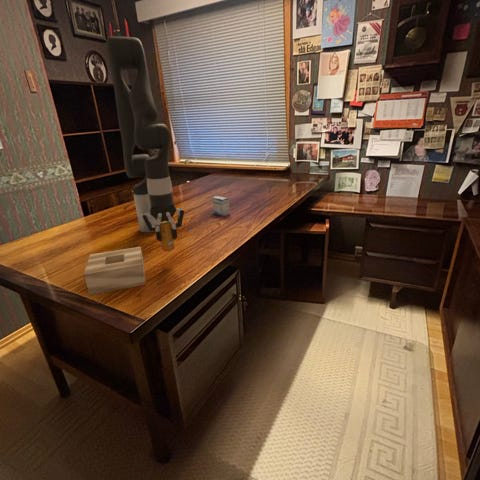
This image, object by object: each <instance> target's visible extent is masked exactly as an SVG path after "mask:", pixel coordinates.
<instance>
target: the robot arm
mask: <svg viewBox="0 0 480 480" xmlns="http://www.w3.org/2000/svg"><path fill="white" fill-rule="evenodd" d="M105 43H106V44H105V45H106V53H107V54H106V55H107V60H108V64H109V69H110V73H111V79H112V83H113V89H114V97H115V104H116V111H117V112H116V113H117V114H116V115H117V119H118V125H119V132H120V137H121V143H122V153H123V164H124V166H123V167H124V171H125V173H126V174H125V175H126V176H127V177H128V178H129V179H134V178H136V179H137V178H143V177H144V179H143V180H142V181H141V182H139V183H137V184H135V185H134V186H132V194H133V199H134V205H135V210H136V215H137V221H138V226H139V227H138V228H139V231H140V233H155V236H156V240H157V241H158V243H159V242H160V243H161V236H160V229H159V227H160V223H161V222H163V221H167V222H170V224H171V226H172V232H173V240H176V238H177V237H178V232H177V229H178V228H181V227H182V225H183V220H184V215H185V210H184V208H182V207H181V208H178V207H177V208H176V206H175V201H174V194H173V193H174V192H173V185H172V180H171V176H170V169H169V153H170V146H171V140H172V139H171V138H172V137H171V136H172V135H171V131H170V128H168V126H167V125H166V124H165V123H156V121H157V120H158V118H159V114H158V110H157V107H156V106H157V105H156V104H155V100H154V97H153V94H152V89H151V88H152V87H151V82H150V76H149V75H150V74H149V70H148V63H147V59H146V54H145V53H146V52H145V49H144V47H143V44H142V41H141V40H140V39H139V38H137V37H132V36H108V37H107V38H106V42H105ZM122 71H123V72H125V71H127V72H128V71H130V72H131V71H134V72H135V71H137V75H136V78H135V79H134V81H133V84H132V86H131V88H129V86H128V84H126V82H125V79H124V77H123V76H122ZM135 147H137V148H138V149H140V150H142V151H146V150H147V151H149V150H158V149H159V150H158V152H157V154H156V155H153V156H150V155H149V154H146V153H141V154H133V153H134V149H135ZM175 213H176V214H177V216H178V217H177V220H176V222H175V221H174V219H173V217H174V215H175Z"/></svg>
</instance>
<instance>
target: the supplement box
mask: <svg viewBox="0 0 480 480" xmlns="http://www.w3.org/2000/svg"><path fill="white" fill-rule="evenodd" d="M159 230H160V236H161V242H160V243H161V251H164V252H168V253H170V252H172V251H174V250H175V242H174V241H175V239H173V232H172V226H171V224H170V221H163V222H160V227H159Z"/></svg>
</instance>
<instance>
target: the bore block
mask: <svg viewBox="0 0 480 480" xmlns="http://www.w3.org/2000/svg"><path fill="white" fill-rule="evenodd" d="M144 262H145V261H144V258H143V252H142V247H141V246H136V247H130V248H123V249H117V250H116V249H115V250H111V251H104V252H98V253H92V254H89V257H88V259H87V262H86V266H85V269H84V272H83V276H84V281H85V284H86V287H87V290H88V294H89V296H92V295H97V294H102V293H108V292H113V291H118V290H123V289H129V288H133V287H137V286H144V285H146V284H147V283H146V270H145V263H144Z"/></svg>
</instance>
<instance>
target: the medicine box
mask: <svg viewBox="0 0 480 480" xmlns="http://www.w3.org/2000/svg"><path fill="white" fill-rule="evenodd" d="M211 198H212V212H213V214H214V215H216V216H217V215H218V216H222V217H225V216H228V215H230V202H229V201H230V199H229V198H228V197H226V196H225V197H224V196H221V195H220V196H219V195H215V196H213V197H211Z"/></svg>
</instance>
